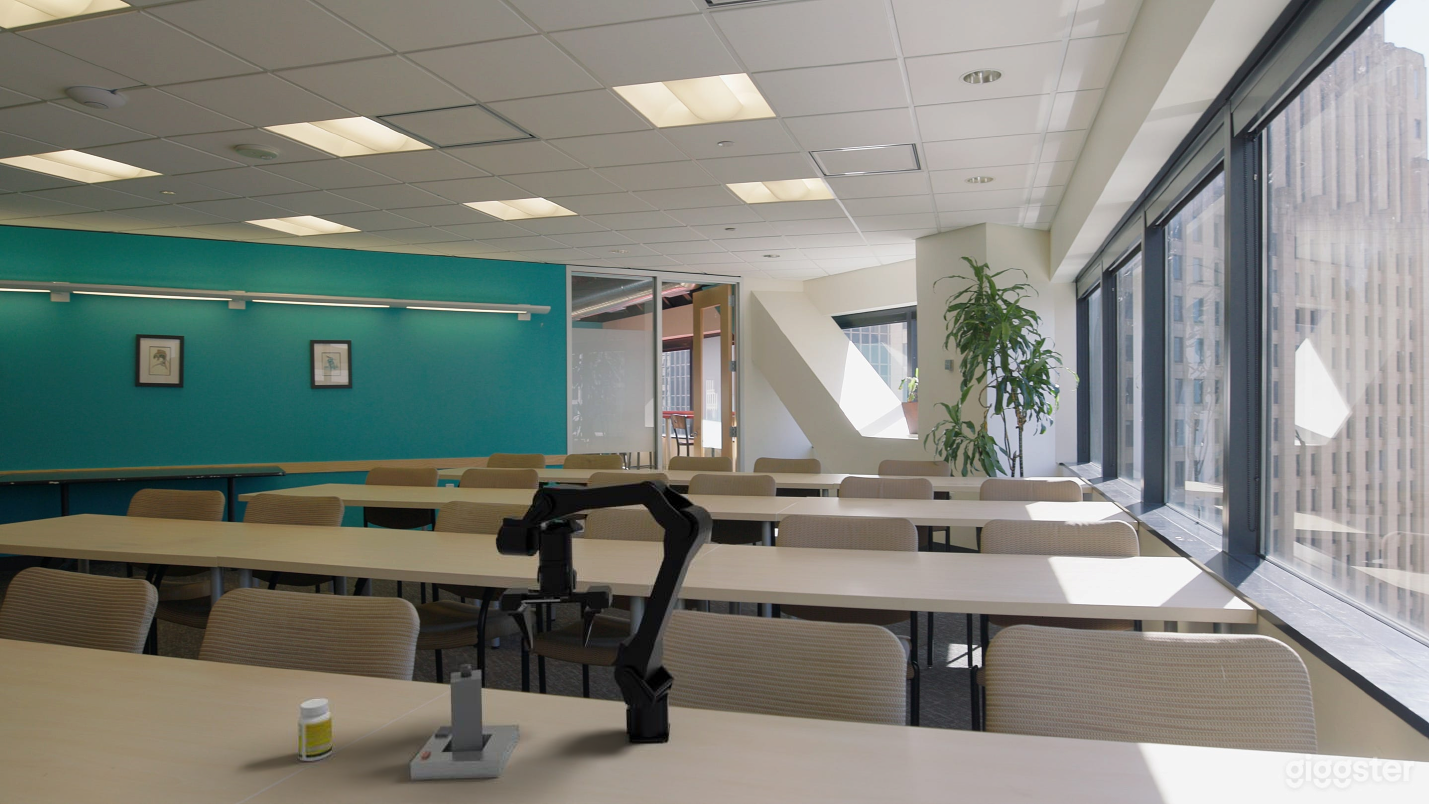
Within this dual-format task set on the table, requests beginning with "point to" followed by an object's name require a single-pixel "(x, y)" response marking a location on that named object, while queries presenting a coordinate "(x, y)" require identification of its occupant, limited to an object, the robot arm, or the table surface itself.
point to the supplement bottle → (314, 730)
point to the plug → (466, 710)
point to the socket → (465, 755)
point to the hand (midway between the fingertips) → (557, 647)
